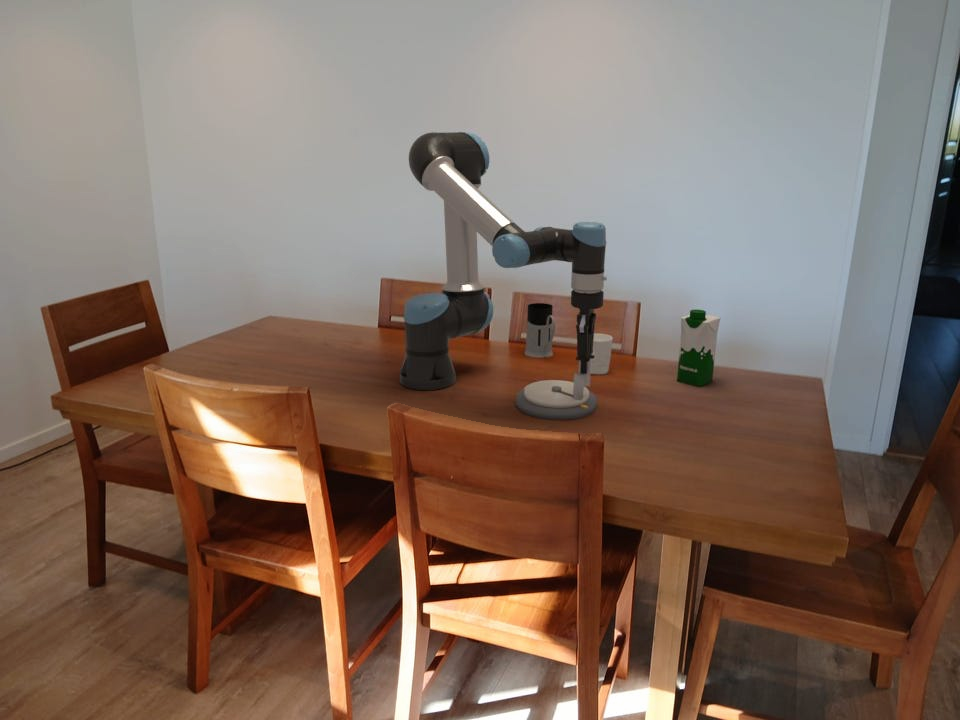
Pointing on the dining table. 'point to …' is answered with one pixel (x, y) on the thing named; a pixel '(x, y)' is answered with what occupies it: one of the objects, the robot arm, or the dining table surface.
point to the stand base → (556, 412)
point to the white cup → (601, 354)
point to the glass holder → (539, 330)
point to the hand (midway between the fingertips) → (584, 384)
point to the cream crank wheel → (558, 393)
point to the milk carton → (697, 348)
